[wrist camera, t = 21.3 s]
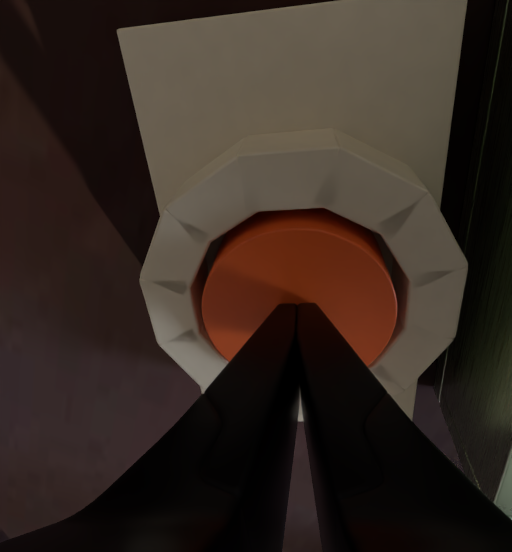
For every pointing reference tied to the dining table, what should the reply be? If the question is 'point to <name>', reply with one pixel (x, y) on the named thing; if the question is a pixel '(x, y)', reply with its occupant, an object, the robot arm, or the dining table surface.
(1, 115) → the dining table surface
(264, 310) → the button
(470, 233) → the warming box
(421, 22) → the control block
